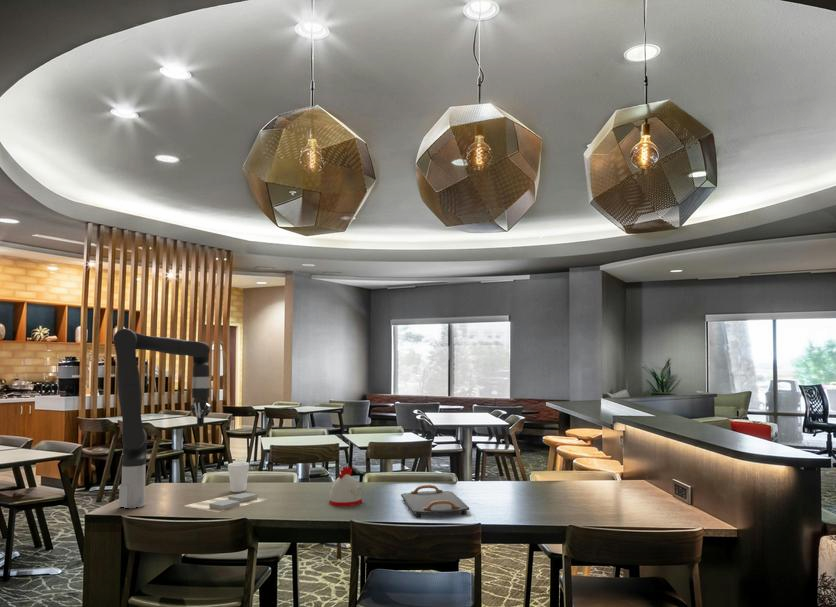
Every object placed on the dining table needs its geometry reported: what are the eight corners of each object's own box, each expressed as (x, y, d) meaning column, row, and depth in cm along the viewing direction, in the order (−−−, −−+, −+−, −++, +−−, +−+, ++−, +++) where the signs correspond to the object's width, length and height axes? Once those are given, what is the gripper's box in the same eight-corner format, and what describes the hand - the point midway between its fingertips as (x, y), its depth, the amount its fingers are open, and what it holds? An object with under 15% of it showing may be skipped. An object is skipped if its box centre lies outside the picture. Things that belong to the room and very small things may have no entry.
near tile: (209, 508, 261) (222, 510, 256) (209, 503, 261) (222, 505, 257) (227, 503, 268) (239, 506, 264) (227, 499, 268) (239, 501, 264)
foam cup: (241, 495, 290) (241, 465, 291) (223, 494, 293) (223, 465, 294) (252, 490, 299) (253, 462, 300) (236, 489, 302) (236, 461, 303)
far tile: (228, 500, 274) (240, 503, 269) (228, 496, 274) (241, 498, 270) (244, 496, 281) (257, 498, 277) (244, 492, 281) (257, 494, 277)
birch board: (217, 514, 253) (217, 512, 253) (182, 508, 266) (182, 505, 266) (268, 501, 276) (268, 499, 276) (234, 496, 288) (234, 493, 288)
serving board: (472, 517, 245) (472, 501, 245) (413, 521, 241) (412, 504, 241) (450, 496, 283) (450, 482, 283) (398, 499, 279) (398, 484, 279)
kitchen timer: (368, 501, 274) (368, 465, 275) (347, 507, 262) (347, 470, 264) (343, 497, 281) (343, 463, 283) (322, 504, 270) (322, 467, 271)
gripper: (184, 387, 285) (183, 426, 284) (203, 387, 278) (202, 428, 277) (198, 386, 292) (197, 425, 290) (217, 386, 284) (217, 426, 283)
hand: (200, 426), depth 283 cm, fingers closed
